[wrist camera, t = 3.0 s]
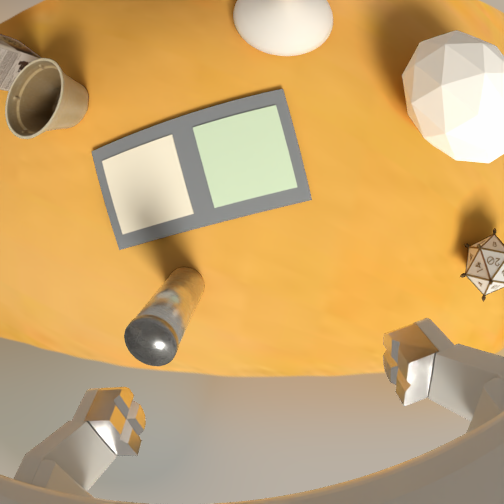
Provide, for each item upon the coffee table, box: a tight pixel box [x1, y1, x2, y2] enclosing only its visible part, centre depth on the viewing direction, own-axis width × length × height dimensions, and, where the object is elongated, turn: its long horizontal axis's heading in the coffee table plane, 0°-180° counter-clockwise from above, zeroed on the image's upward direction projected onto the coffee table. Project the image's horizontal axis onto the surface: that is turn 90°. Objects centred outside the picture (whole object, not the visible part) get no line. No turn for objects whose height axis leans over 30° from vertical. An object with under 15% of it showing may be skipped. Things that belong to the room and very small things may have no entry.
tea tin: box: [124, 267, 205, 366], centre depth 32 cm, size 5×5×14 cm
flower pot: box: [5, 58, 89, 139], centre depth 29 cm, size 9×9×9 cm
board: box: [92, 89, 312, 250], centre depth 35 cm, size 24×13×1 cm, turn 105°
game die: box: [460, 228, 504, 301], centre depth 32 cm, size 9×8×10 cm
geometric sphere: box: [402, 30, 504, 163], centre depth 24 cm, size 14×15×15 cm
